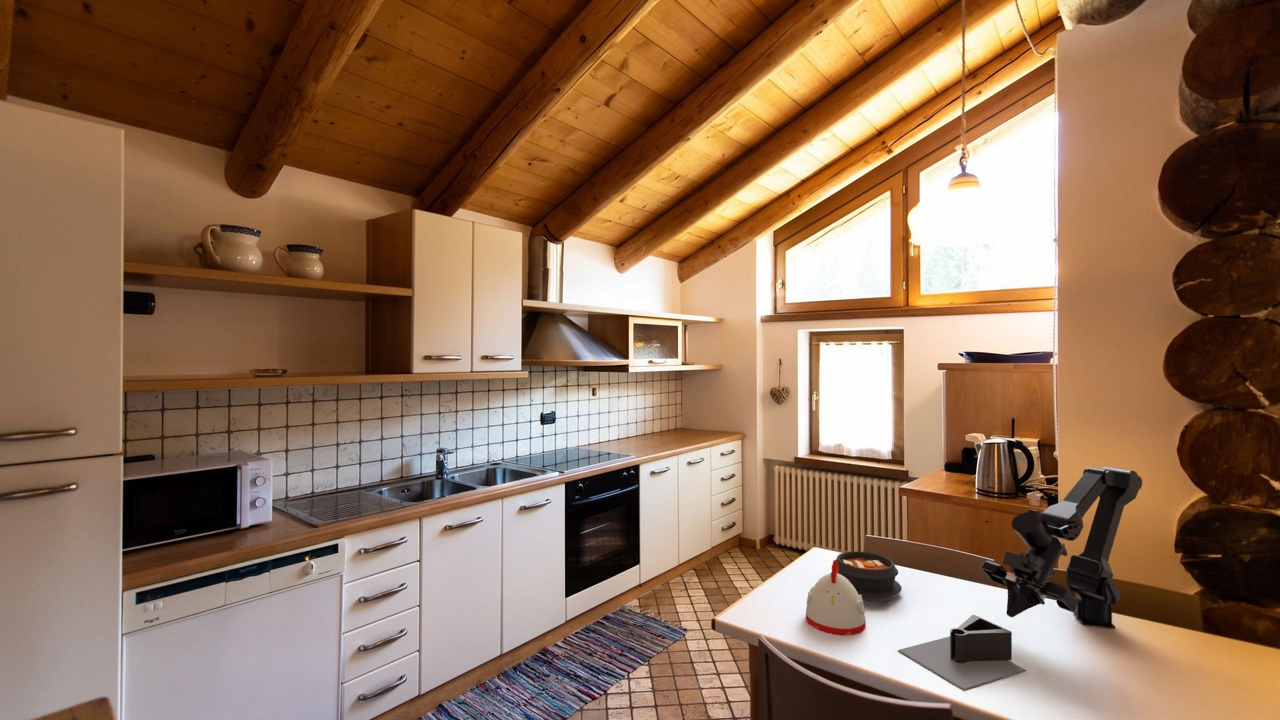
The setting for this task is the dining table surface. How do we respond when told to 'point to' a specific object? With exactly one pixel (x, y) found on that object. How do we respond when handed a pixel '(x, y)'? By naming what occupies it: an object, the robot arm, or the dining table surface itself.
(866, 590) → the casserole
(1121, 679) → the dining table surface
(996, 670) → the mat
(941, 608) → the dining table surface
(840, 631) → the kitchen timer
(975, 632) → the phone stand
